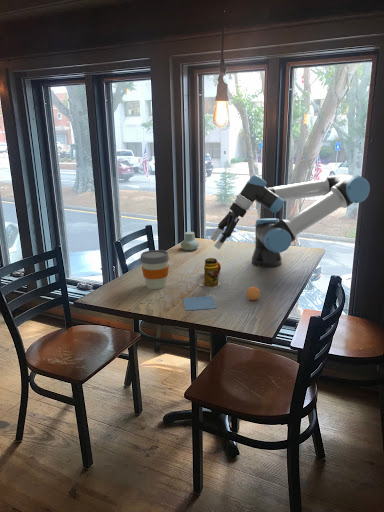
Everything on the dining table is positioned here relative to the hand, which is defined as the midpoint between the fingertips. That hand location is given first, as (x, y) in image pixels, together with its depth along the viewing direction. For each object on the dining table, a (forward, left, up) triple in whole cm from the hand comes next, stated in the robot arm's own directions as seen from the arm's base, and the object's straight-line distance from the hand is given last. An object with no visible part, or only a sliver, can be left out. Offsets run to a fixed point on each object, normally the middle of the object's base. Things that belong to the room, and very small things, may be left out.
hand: (214, 243), depth 188 cm
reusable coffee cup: (+28, +10, -16) cm, 34 cm away
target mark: (+11, +33, -15) cm, 38 cm away
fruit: (+1, 0, -16) cm, 16 cm away
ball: (-11, +33, -13) cm, 37 cm away
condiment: (+4, +13, -16) cm, 20 cm away
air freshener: (+8, -46, -16) cm, 50 cm away
